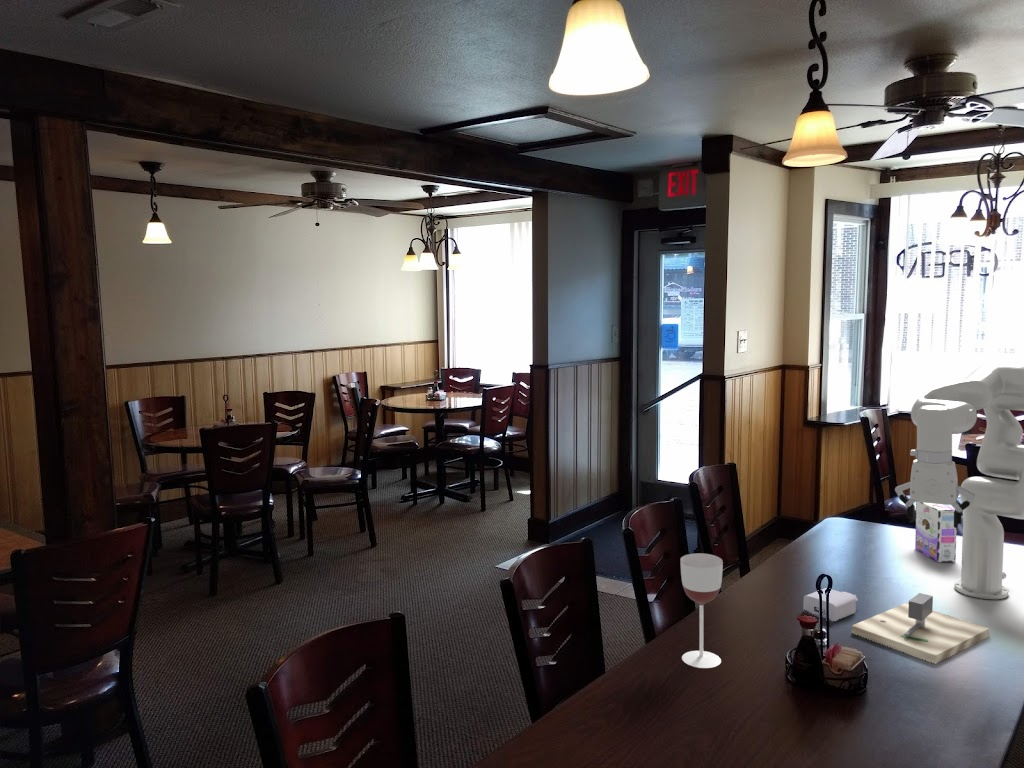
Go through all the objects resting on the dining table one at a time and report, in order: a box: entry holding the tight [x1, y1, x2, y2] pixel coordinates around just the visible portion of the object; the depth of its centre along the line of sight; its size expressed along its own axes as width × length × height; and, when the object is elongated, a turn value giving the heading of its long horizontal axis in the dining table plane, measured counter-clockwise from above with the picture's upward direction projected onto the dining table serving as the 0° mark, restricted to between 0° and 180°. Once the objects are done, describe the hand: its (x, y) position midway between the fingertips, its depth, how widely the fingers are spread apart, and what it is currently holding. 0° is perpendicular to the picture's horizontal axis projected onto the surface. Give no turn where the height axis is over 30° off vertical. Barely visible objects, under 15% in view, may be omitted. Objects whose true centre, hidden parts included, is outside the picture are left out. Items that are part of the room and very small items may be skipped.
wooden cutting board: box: [851, 602, 990, 665], centre depth 184 cm, size 24×20×2 cm
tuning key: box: [904, 592, 934, 637], centre depth 181 cm, size 12×3×7 cm, turn 134°
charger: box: [803, 587, 859, 622], centre depth 200 cm, size 5×9×15 cm
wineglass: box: [680, 552, 724, 669], centre depth 173 cm, size 9×10×23 cm
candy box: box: [914, 501, 958, 563], centre depth 239 cm, size 14×6×16 cm, turn 179°
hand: (933, 523), depth 190 cm, fingers open, 9 cm apart
